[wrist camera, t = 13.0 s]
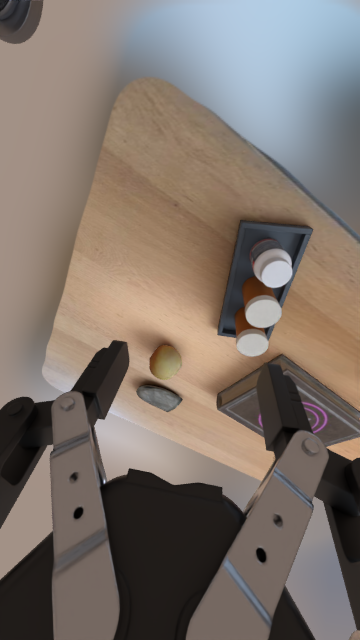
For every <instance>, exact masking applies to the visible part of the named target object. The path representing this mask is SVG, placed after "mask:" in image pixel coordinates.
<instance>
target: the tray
mask: <svg viewBox="0 0 360 640" xmlns="http://www.w3.org/2000/svg"><path fill="white" fill-rule="evenodd" d="M312 231H313V229H312V228H311V227H309V226H299V225H289V224H278V223H267V222H257V221H246V220H241V221H240V225H239V230H238V235H237V240H236V244H235V249H234V254H233V259H232V264H231V268H230V273H229V278H228V283H227V288H226V292H225V297H224V302H223V307H222V311H221V316H220V321H219V326H218V335H220V336H227V337H234V338H237V337H236V326H235V314H236V312H237V311H238V310H239V309H240V308H242V307H245V306H244V300H243V294H242V286H243V284H244V282H245V281H246V280H247V279H249V278H251V277H254V276H255V274H254V271H253V268H252V265H251V262H250V251H251V249H252V247H253V246H254V245H255V244H256V243H257V242H259V241H260V240H263V239H268V238H270V239H274V240H276V241H278V242H279V243H280V244H281V246H282V247H283V249H284V250H285V251H286V252H287V253H288V255H289V256H290V258H291V261H292V266H291V267H292V276H291V278H290V280H289V281H288V282H287V283H286V284H285V285H283V286H281V287H277V288H272V291H273V293H274V295H275V297H276V300H277V301H278V303H279V305H280V307H281V308H282V306H283V303H284V301H285V298H286V296H287V293H288V291H289V288H290V286H291V283H292V281H293V278H294V276H295V274H296V271H297V269H298V266H299V264H300V261H301V259H302V256H303V254H304V251H305V249H306V246H307V244H308V241H309V239H310V236H311V234H312ZM274 326H275V324H273V325H272V326H269V327H265V328H264V331H265V335H266V336H267V340H269V338H270V335H271V333H272V331H273V328H274Z"/></svg>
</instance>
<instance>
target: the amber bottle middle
mask: <svg viewBox="0 0 360 640" xmlns="http://www.w3.org/2000/svg"><path fill="white" fill-rule="evenodd" d="M242 294H243V300H244V306H245V315H246V319H247V321H248V322H249V323H250V324H251V325H252V326H254V327H258V328H265V327H269V326H272V325H273V324H275V323H276V322H277V321H278V320H279V319H280V317H281V313H282V311H281V307H280V305H279V303H278V301H277V300H276V297H275V295H274V293H273V291H272V288H271V287H268V286H266V285H265V284H264V283H263V282H261V281H260V280H259V279H258V278H257V277H256V276H254V277H251V278H249V279H247V280H246V281H245V282H244V284H243V286H242Z"/></svg>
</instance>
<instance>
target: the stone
mask: <svg viewBox="0 0 360 640" xmlns="http://www.w3.org/2000/svg"><path fill="white" fill-rule="evenodd" d="M136 392H137V395H138V396H139V397H140V398H141V399H142V400H144V401H146V402H148V403H149V404H151V405H153V406H156V407H158V408H160V409H162V410H164V411H166V412H169V411H171V410H173V409H175V408H176V407H177V406H178V405H179V404H180V403H181V401H182V398H180V397H179V396H178V395H176V394H174V393H172V392H171V391H168V390H166V389H163V388H160V387H156V386H151V385H144V386H140V387H139V388H138V389H137V391H136Z"/></svg>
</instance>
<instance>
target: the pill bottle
mask: <svg viewBox="0 0 360 640" xmlns="http://www.w3.org/2000/svg"><path fill="white" fill-rule="evenodd" d="M250 262H251V265H252V268H253V271H254V274H255V276H256V277H257V278H258V279H259V280H260V281H261V282H263V283H264V284H265V285H266V286H268V287H271V288H277V287H281V286H283V285H285V284H286V283H287V282H288V281H289V280H290V278H291V276H292V267H291V266H292V261H291V258H290V256H289V255H288V253H287V252H286V251H285V250H284V249H283V247H282V246H281V244H280V243H279V242H278V241H276V240H274V239H270V238H268V239H263V240H260V241H259V242H257V243H256V244H255V245H254V246H253V247H252V249H251V251H250Z"/></svg>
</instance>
